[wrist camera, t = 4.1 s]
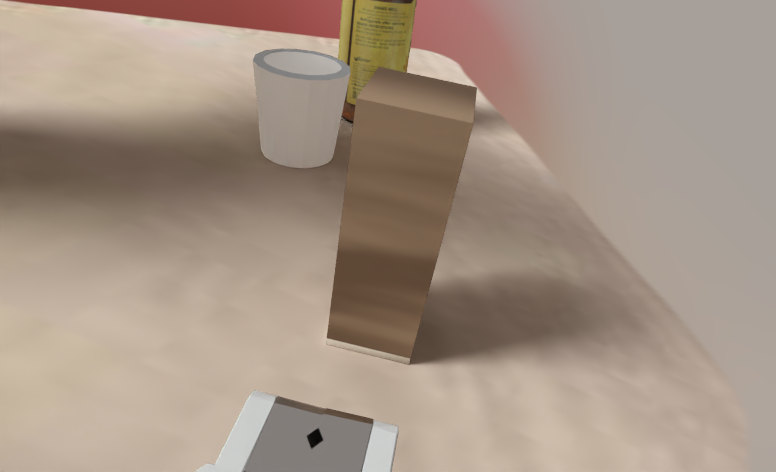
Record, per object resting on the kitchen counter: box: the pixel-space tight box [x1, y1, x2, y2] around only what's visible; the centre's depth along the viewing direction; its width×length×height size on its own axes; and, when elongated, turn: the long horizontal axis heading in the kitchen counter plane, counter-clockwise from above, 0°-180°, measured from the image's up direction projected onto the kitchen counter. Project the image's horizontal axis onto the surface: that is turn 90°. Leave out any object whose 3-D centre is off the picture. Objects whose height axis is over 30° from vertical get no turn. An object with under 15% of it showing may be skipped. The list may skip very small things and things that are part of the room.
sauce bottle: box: [338, 0, 417, 122], centre depth 42 cm, size 6×6×20 cm
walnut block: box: [326, 67, 477, 364], centre depth 22 cm, size 4×4×12 cm
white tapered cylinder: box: [253, 49, 350, 168], centre depth 37 cm, size 7×7×7 cm
